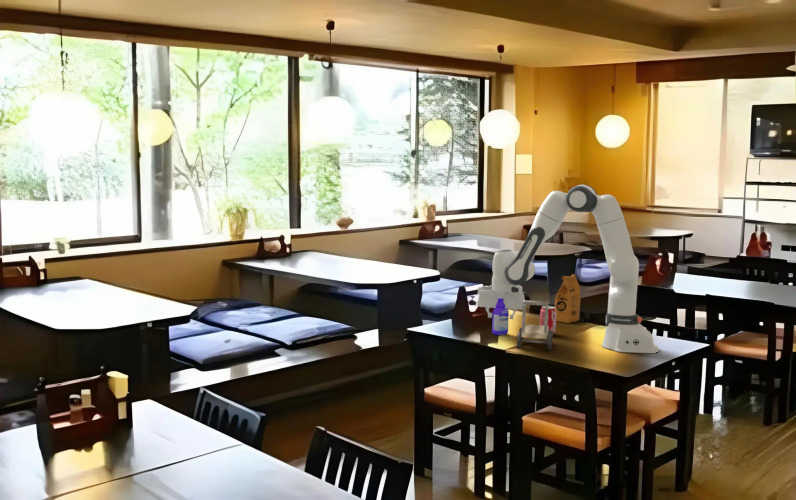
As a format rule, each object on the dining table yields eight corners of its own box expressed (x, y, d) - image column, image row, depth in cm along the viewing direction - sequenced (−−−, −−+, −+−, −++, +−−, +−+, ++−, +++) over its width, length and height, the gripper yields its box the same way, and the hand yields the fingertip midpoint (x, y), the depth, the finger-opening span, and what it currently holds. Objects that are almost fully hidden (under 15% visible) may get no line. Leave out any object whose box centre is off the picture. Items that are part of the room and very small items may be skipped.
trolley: (552, 342, 330) (554, 296, 328) (550, 351, 314) (552, 302, 312) (519, 340, 333) (521, 294, 331) (516, 348, 317) (518, 300, 315)
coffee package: (550, 320, 376) (552, 275, 374) (564, 317, 385) (566, 273, 383) (568, 324, 370) (570, 277, 367) (582, 320, 379) (584, 275, 376)
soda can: (554, 332, 350) (555, 305, 349) (556, 336, 343) (557, 308, 342) (538, 331, 351) (539, 305, 349) (539, 335, 344) (541, 308, 342)
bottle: (498, 336, 339) (500, 296, 337) (489, 334, 344) (490, 294, 342) (510, 334, 344) (512, 295, 342) (500, 332, 348) (502, 293, 346)
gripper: (477, 286, 341) (475, 317, 342) (524, 289, 336) (523, 321, 338) (478, 284, 347) (477, 315, 348) (525, 287, 342) (524, 318, 344)
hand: (500, 318), depth 343 cm, fingers open, 8 cm apart
